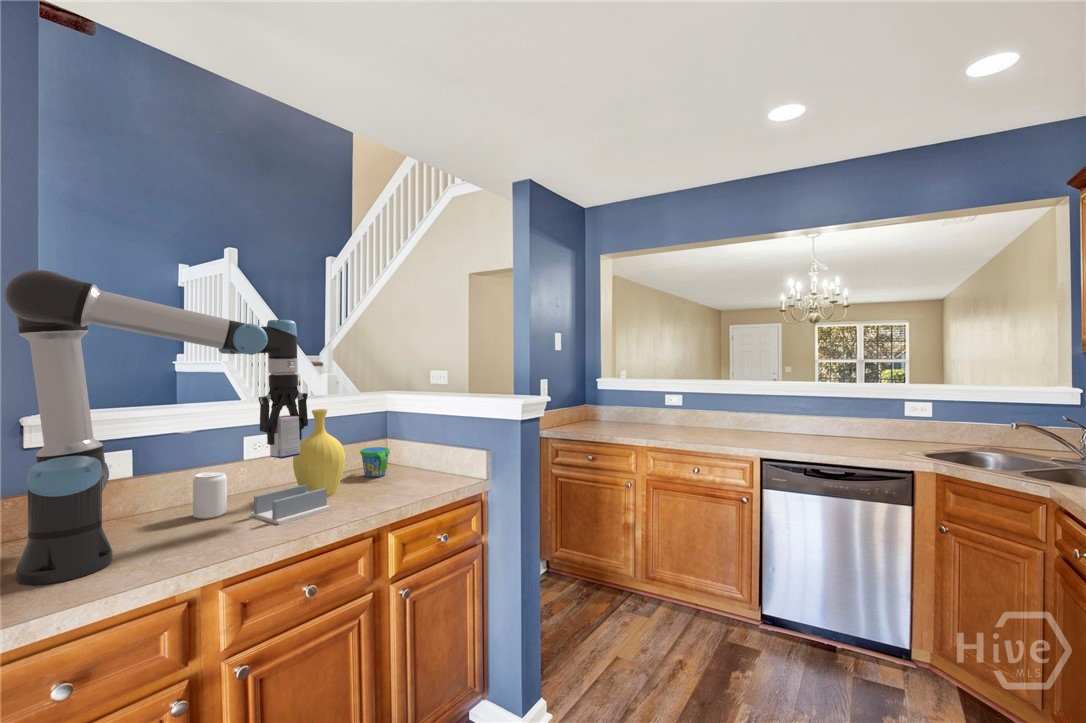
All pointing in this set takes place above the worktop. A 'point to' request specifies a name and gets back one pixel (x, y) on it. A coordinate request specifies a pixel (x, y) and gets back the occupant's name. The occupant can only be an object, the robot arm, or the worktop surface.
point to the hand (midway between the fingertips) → (285, 453)
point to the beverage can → (209, 494)
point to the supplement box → (288, 436)
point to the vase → (320, 458)
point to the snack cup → (375, 461)
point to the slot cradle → (290, 504)
